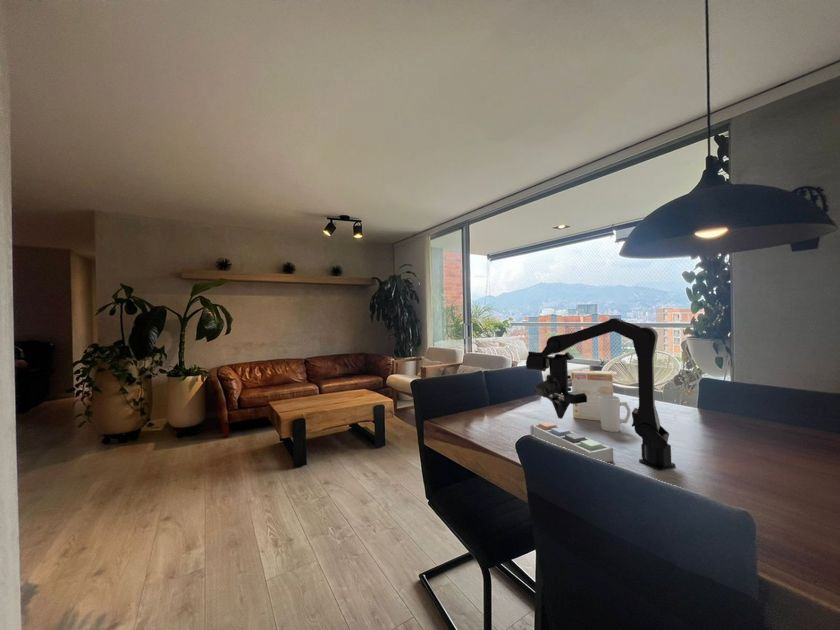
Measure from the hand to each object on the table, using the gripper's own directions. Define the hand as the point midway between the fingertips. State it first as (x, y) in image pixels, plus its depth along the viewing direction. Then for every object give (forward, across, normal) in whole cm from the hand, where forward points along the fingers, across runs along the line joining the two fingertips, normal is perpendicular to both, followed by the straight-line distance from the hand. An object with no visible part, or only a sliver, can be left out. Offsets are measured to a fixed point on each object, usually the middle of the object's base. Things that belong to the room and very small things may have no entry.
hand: (560, 418), depth 116 cm
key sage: (+6, +13, 0) cm, 14 cm away
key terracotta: (+6, -7, 0) cm, 9 cm away
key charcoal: (+6, +6, 0) cm, 9 cm away
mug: (+9, -3, +28) cm, 30 cm away
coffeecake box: (+9, -17, +32) cm, 37 cm away
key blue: (+6, 0, 0) cm, 6 cm away
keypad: (+9, +3, 0) cm, 9 cm away
